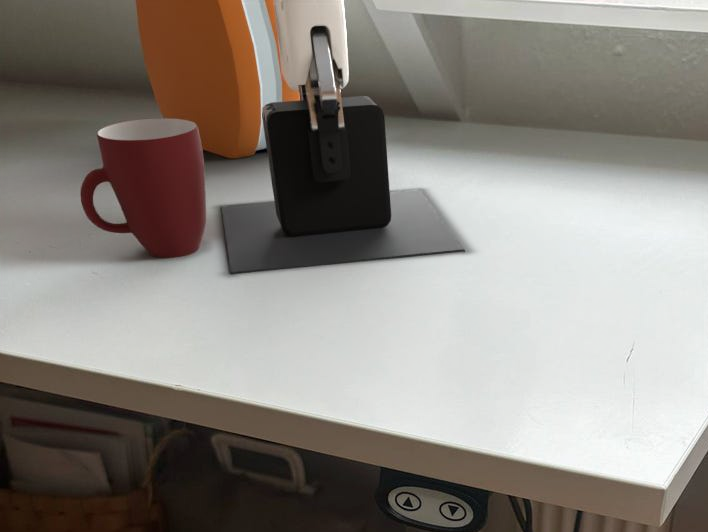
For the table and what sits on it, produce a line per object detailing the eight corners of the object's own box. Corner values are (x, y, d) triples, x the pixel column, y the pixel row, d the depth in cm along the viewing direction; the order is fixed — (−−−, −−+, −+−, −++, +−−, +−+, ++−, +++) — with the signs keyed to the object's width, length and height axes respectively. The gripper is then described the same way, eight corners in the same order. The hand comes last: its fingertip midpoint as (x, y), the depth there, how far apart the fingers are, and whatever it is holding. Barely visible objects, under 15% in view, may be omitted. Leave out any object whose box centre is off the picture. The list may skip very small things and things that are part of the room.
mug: (116, 283, 78) (82, 150, 71) (87, 257, 83) (52, 131, 77) (235, 257, 82) (212, 130, 76) (201, 234, 87) (177, 114, 81)
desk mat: (231, 279, 78) (230, 272, 78) (222, 212, 93) (221, 205, 93) (465, 256, 82) (465, 249, 81) (420, 195, 97) (419, 188, 96)
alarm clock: (321, 149, 112) (294, -91, 97) (250, 165, 107) (210, -86, 92) (225, 121, 125) (188, -95, 110) (157, 134, 120) (109, -91, 105)
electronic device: (392, 227, 86) (383, 104, 80) (283, 238, 84) (265, 112, 78) (383, 214, 89) (373, 94, 83) (277, 224, 87) (260, 103, 81)
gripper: (245, -88, 78) (278, 154, 90) (259, -78, 65) (296, 202, 77) (335, -91, 79) (356, 148, 91) (365, -81, 67) (386, 194, 78)
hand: (328, 170), depth 84 cm, fingers open, 4 cm apart
